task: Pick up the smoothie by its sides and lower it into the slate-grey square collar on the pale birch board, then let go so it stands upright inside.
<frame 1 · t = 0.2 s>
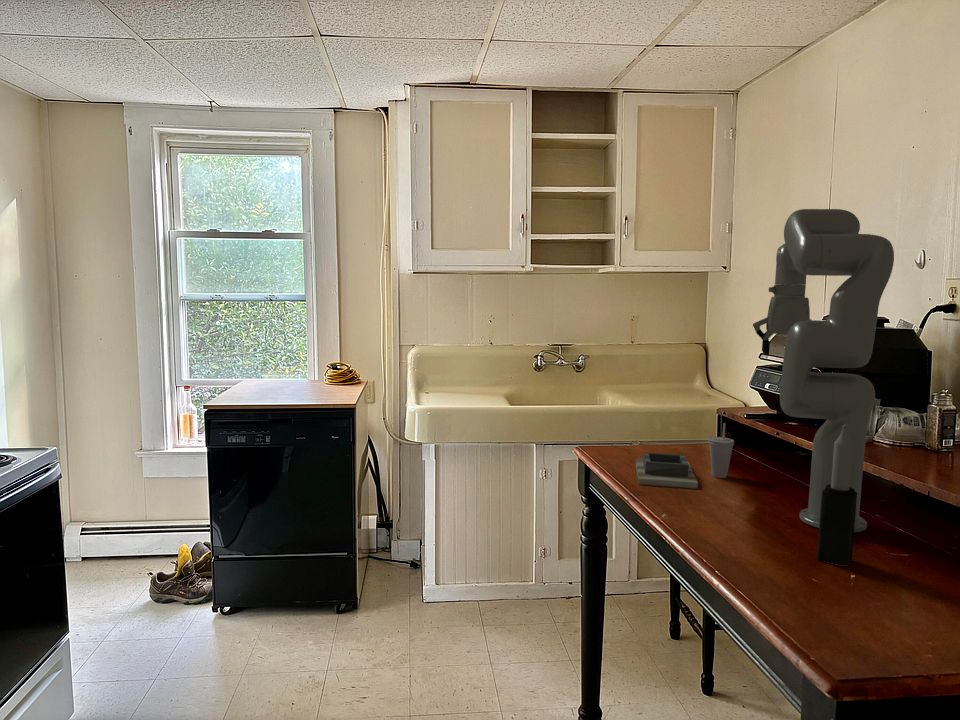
hand: (785, 355, 181), 31 cm above the table, fingers open, 9 cm apart
holder: (664, 475, 175), on the table
smoothie: (719, 476, 175), on the table
candle: (834, 560, 122), on the table
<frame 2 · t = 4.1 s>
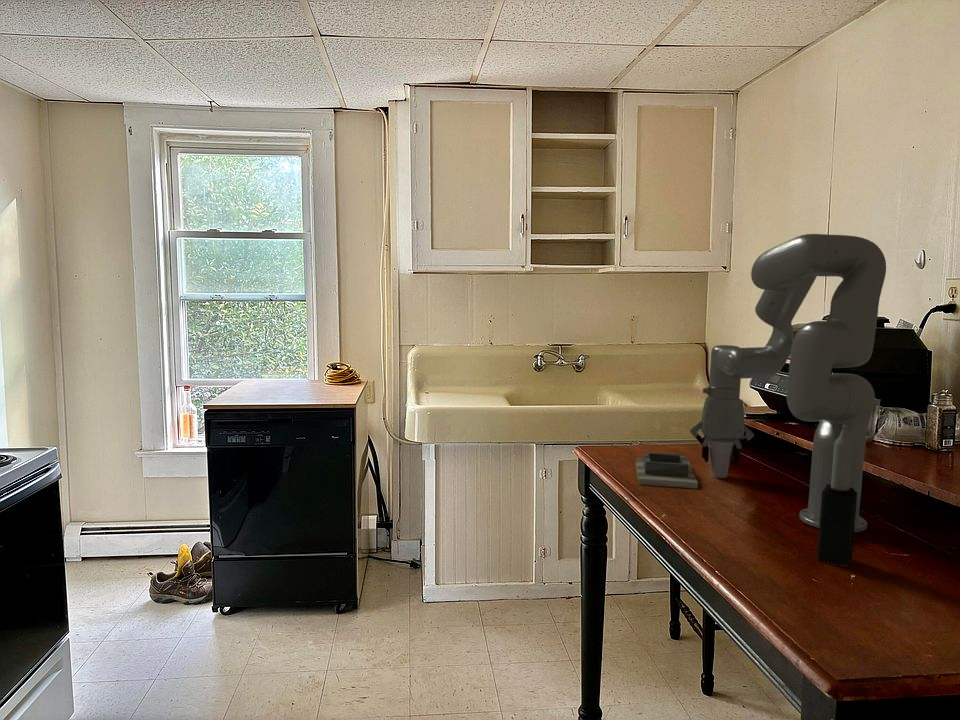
hand: (720, 461, 174), 4 cm above the table, fingers closed on smoothie, 6 cm apart
smoothie: (719, 476, 175), on the table, touching gripper
everything else where it was.
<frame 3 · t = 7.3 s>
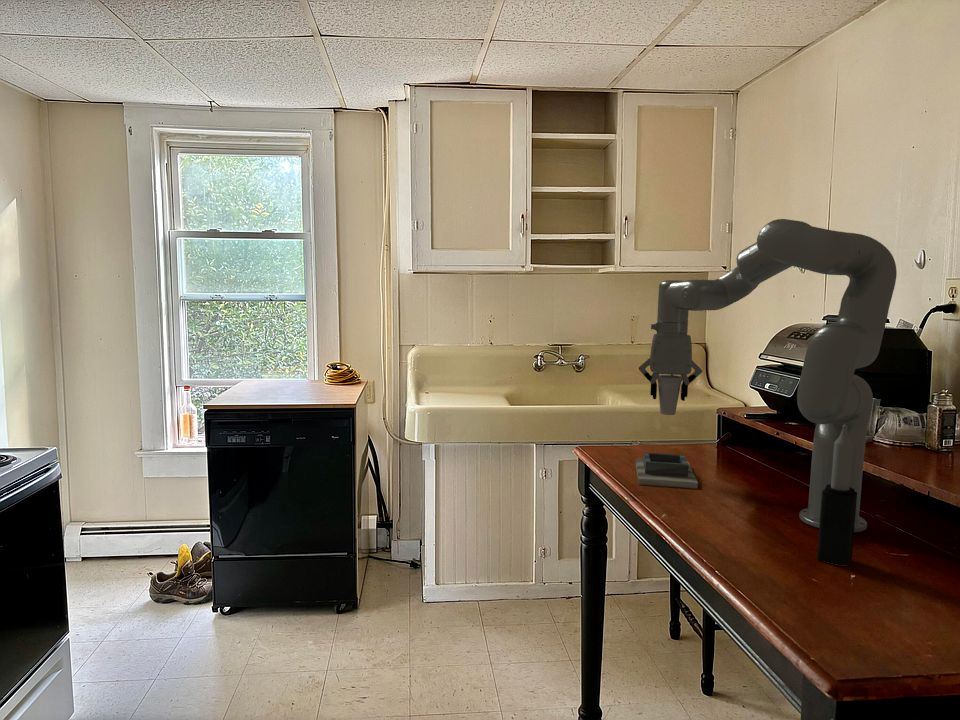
hand: (668, 398, 172), 20 cm above the table, fingers closed on smoothie, 6 cm apart
smoothie: (667, 414, 173), point 16 cm above the table, touching gripper
everything else where it was.
when the fingers open (7 cm above the table, at t = 10.8 s): smoothie drops 1 cm, resting on holder.
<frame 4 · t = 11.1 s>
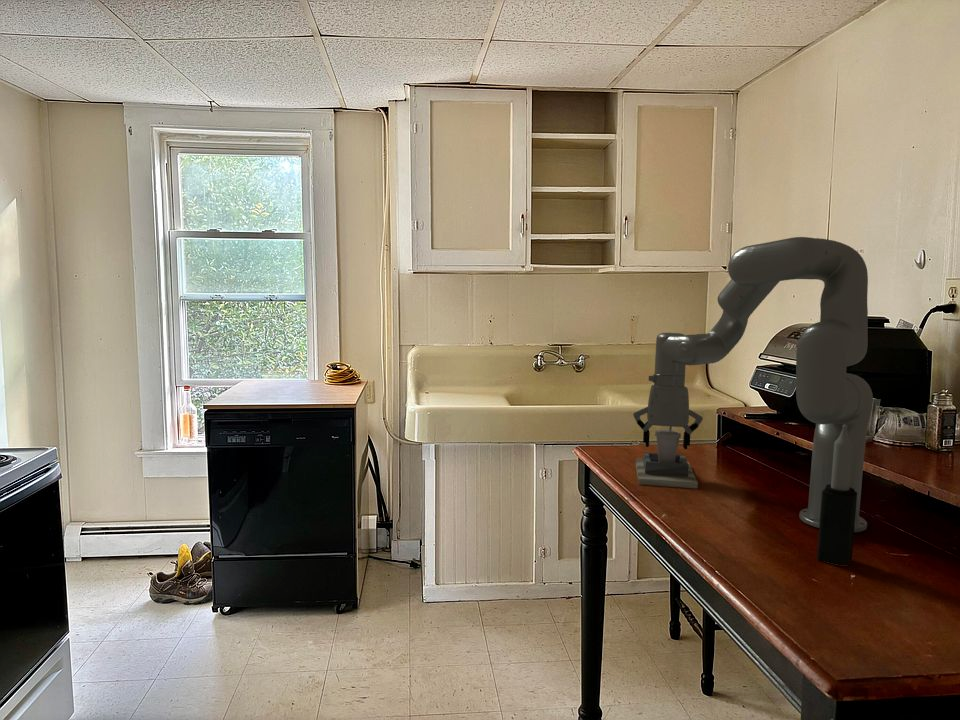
hand: (666, 446, 174), 8 cm above the table, fingers open, 9 cm apart
smoothie: (666, 469, 174), point 2 cm above the table, touching holder
everything else where it was.
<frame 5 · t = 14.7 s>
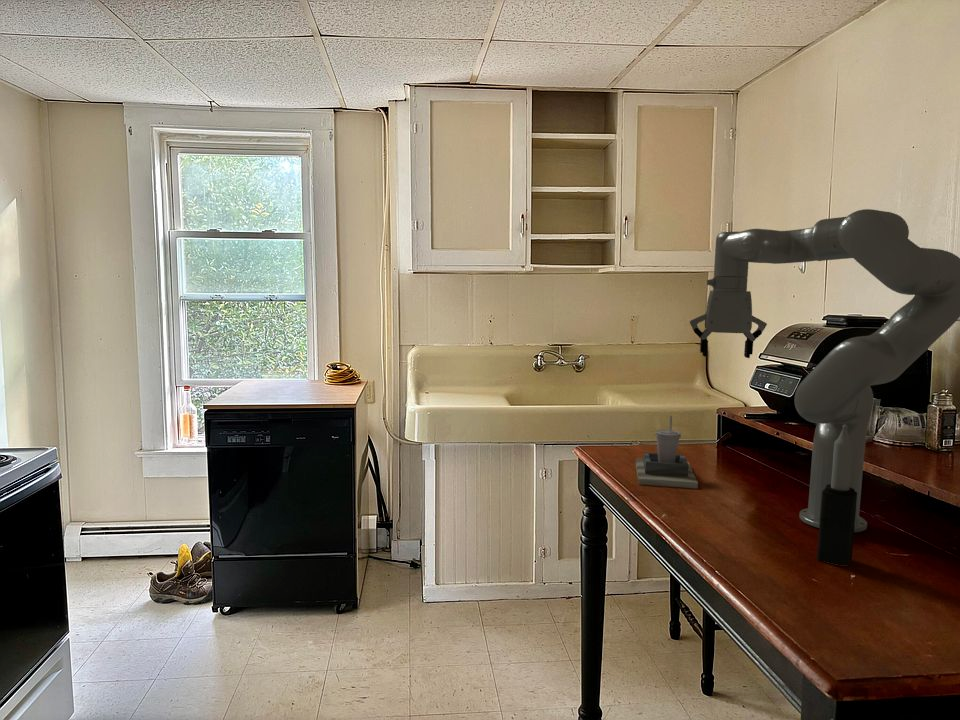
hand: (725, 356, 161), 32 cm above the table, fingers open, 9 cm apart
nothing on the table moved.
at the end: smoothie 0.3 cm off-centre on the holder, point 1.5 cm above the holder's base; smoothie tilted 0°; the gripper is holding nothing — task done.
